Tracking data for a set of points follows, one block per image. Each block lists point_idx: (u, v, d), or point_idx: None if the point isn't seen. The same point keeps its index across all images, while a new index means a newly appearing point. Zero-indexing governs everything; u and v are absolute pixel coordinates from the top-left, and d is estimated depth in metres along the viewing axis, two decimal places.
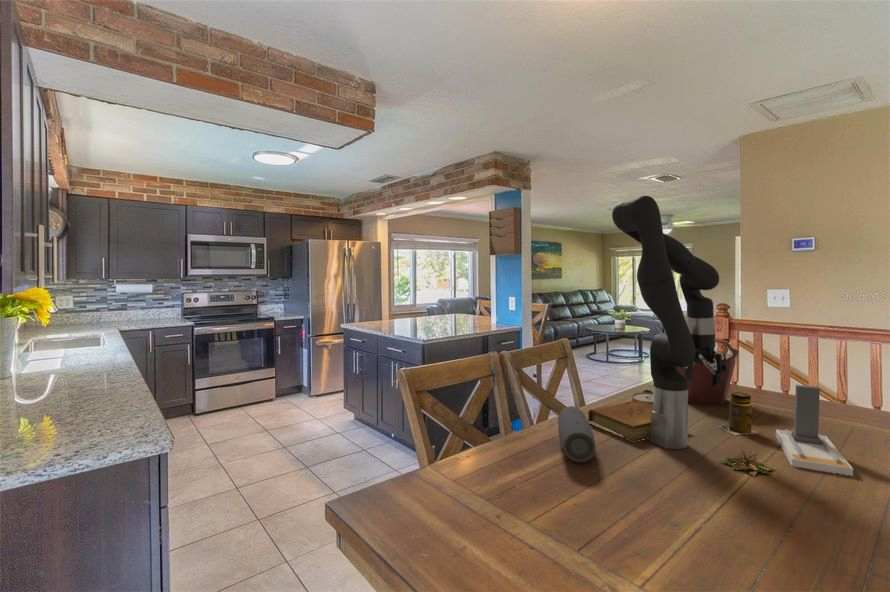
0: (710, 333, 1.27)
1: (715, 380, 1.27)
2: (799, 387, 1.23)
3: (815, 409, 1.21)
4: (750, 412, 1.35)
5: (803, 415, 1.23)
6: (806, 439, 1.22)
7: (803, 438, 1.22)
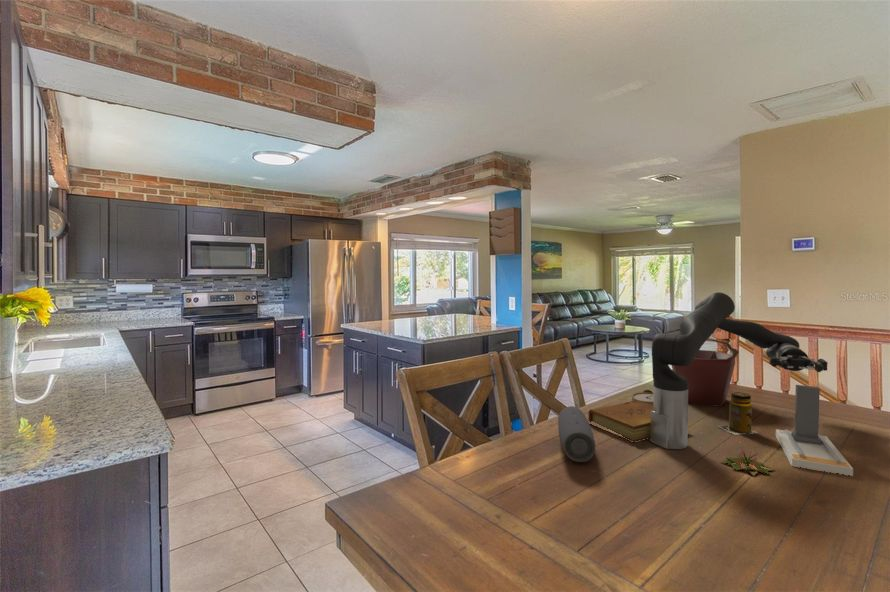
0: None
1: (820, 365, 1.28)
2: (799, 387, 1.23)
3: (815, 409, 1.21)
4: (750, 412, 1.35)
5: (803, 415, 1.23)
6: (806, 439, 1.22)
7: (803, 438, 1.22)
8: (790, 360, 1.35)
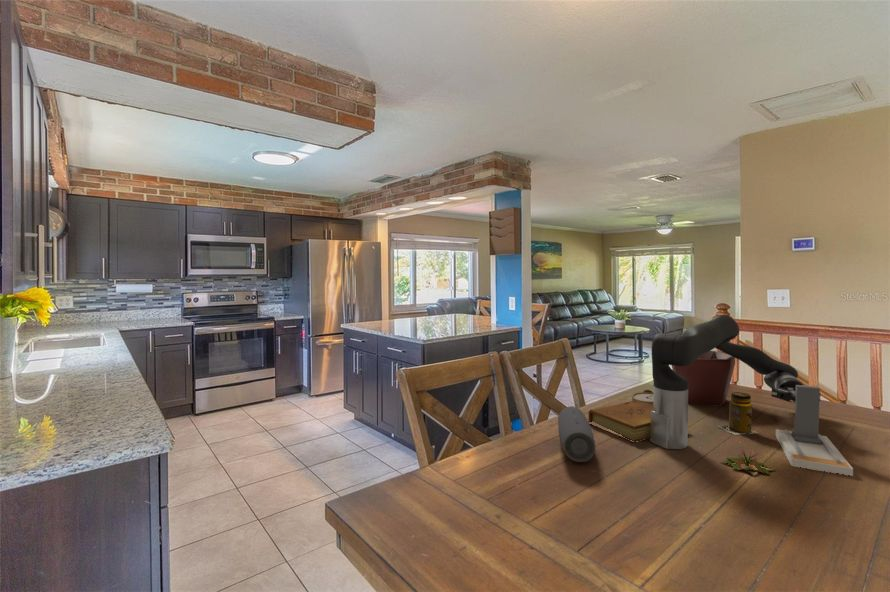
0: None
1: None
2: (799, 387, 1.23)
3: (815, 409, 1.21)
4: (750, 412, 1.35)
5: (803, 415, 1.23)
6: (806, 439, 1.22)
7: (803, 438, 1.22)
8: None
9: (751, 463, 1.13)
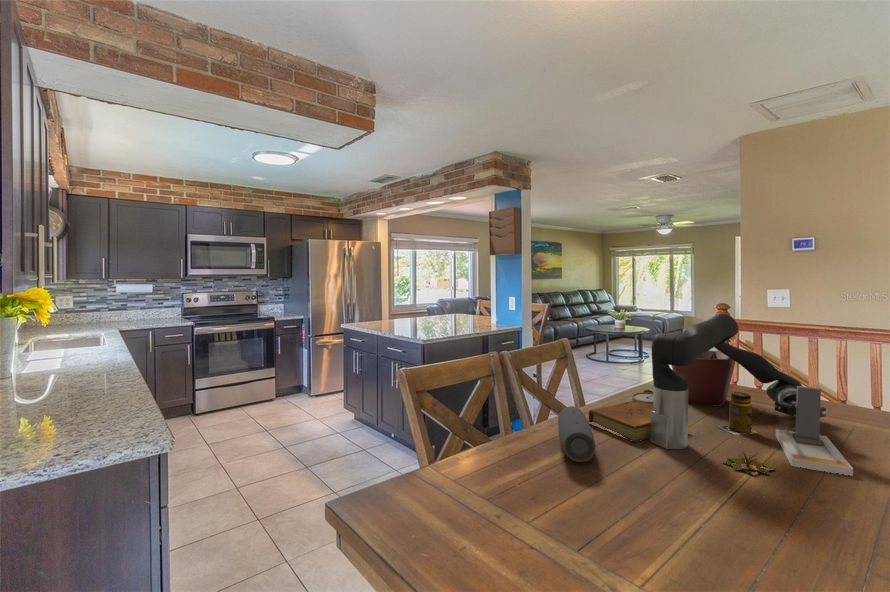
0: None
1: None
2: (800, 388, 1.22)
3: (816, 410, 1.20)
4: (750, 412, 1.35)
5: (804, 416, 1.22)
6: (807, 441, 1.21)
7: (804, 440, 1.21)
8: None
9: (751, 463, 1.13)
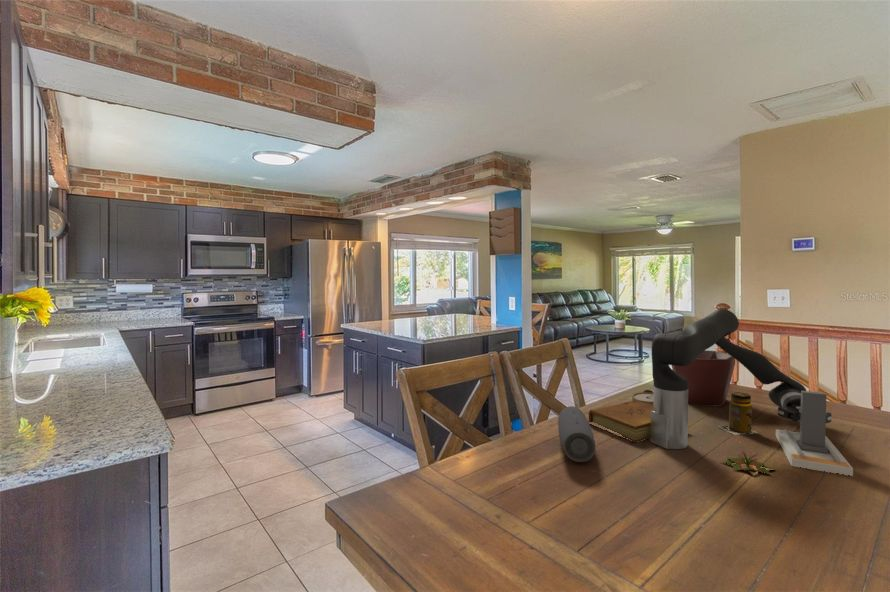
0: None
1: None
2: (805, 393, 1.17)
3: (821, 416, 1.15)
4: (750, 412, 1.35)
5: (809, 422, 1.17)
6: (812, 448, 1.16)
7: (809, 447, 1.16)
8: None
9: (751, 463, 1.13)
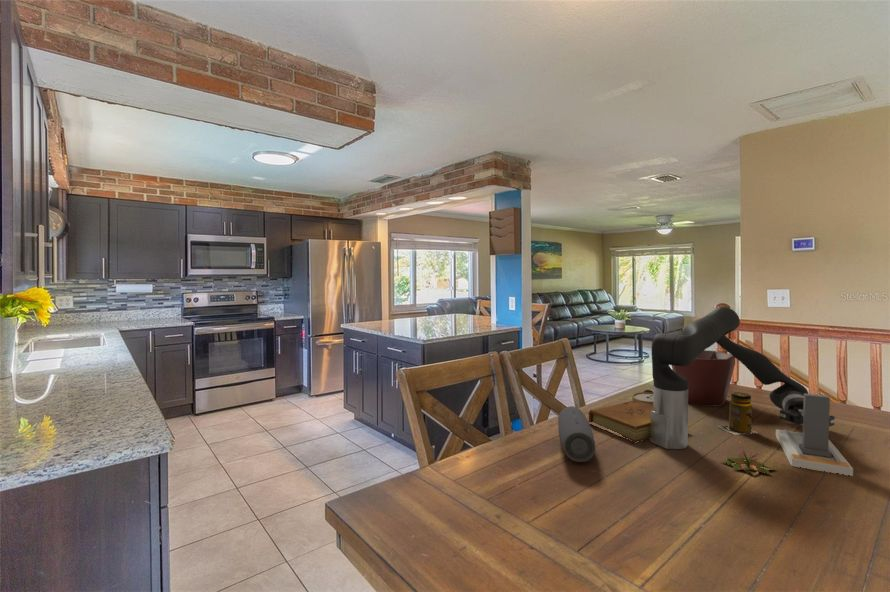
0: None
1: None
2: (807, 396, 1.14)
3: (825, 419, 1.12)
4: (750, 412, 1.35)
5: (812, 426, 1.14)
6: (815, 452, 1.13)
7: (812, 451, 1.13)
8: None
9: (752, 463, 1.13)
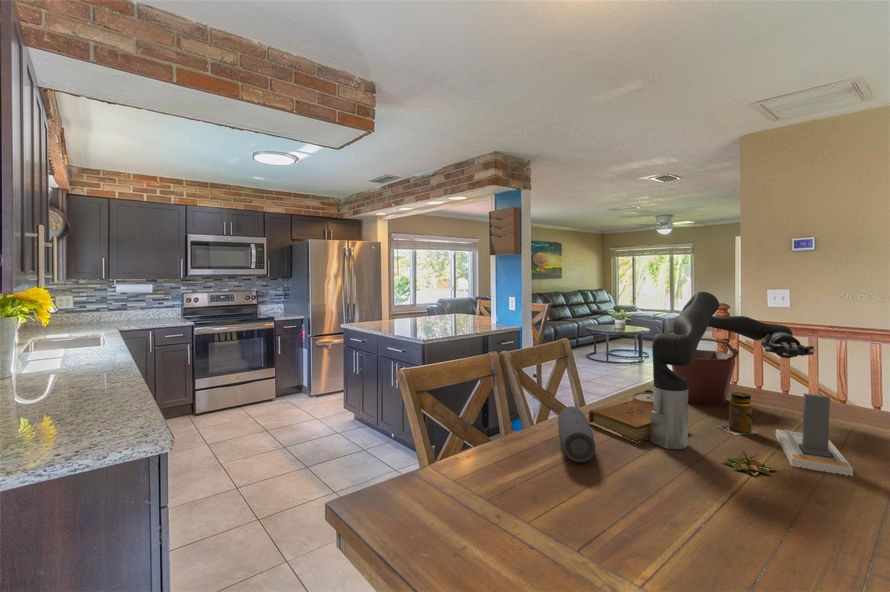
0: None
1: (797, 350, 1.30)
2: (807, 396, 1.14)
3: (825, 419, 1.13)
4: (750, 412, 1.35)
5: (812, 426, 1.14)
6: (815, 452, 1.13)
7: (812, 451, 1.13)
8: (788, 347, 1.36)
9: (752, 463, 1.13)
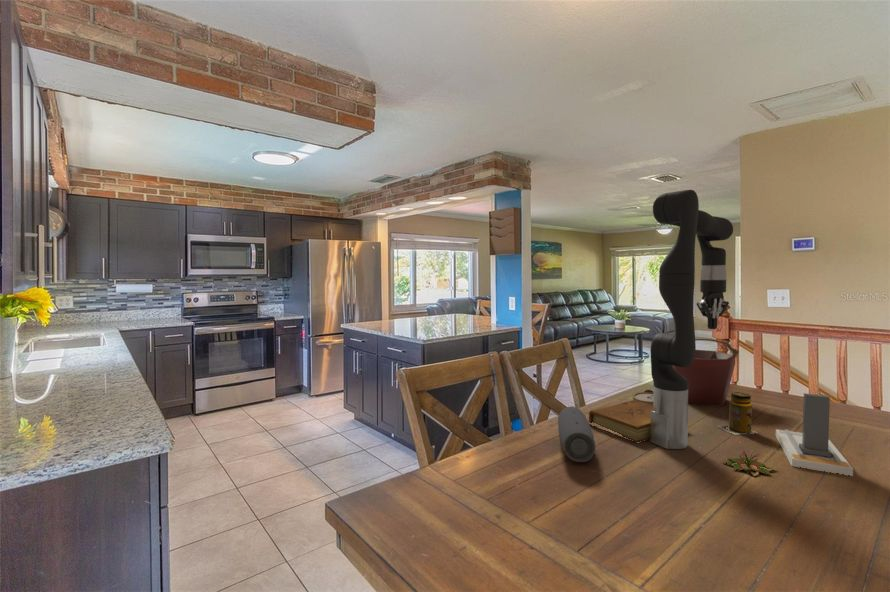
0: None
1: None
2: (807, 396, 1.14)
3: (825, 419, 1.13)
4: (750, 412, 1.35)
5: (812, 426, 1.14)
6: (815, 452, 1.13)
7: (812, 451, 1.13)
8: None
9: (752, 463, 1.13)
